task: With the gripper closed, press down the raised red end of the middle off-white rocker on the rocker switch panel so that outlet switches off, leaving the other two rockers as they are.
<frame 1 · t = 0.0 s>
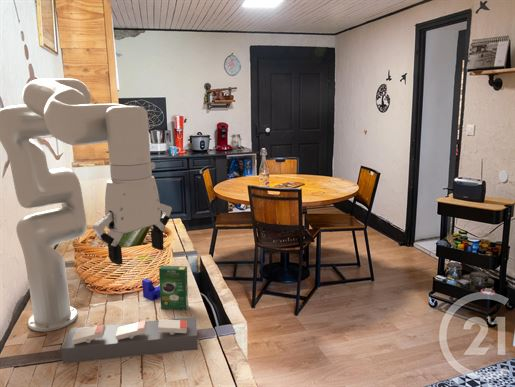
hand: (138, 255, 87), 31 cm above the table, tool pointing down, fingers open, 9 cm apart
rocker 3: (172, 326, 108), point 5 cm above the table, hinge at -10.0°
coffee box: (175, 308, 129), on the table
rocker 2: (131, 330, 107), point 5 cm above the table, hinge at 10.0°
rocker switch panel: (134, 345, 110), on the table
rocker 1: (89, 334, 105), point 5 cm above the table, hinge at 10.0°
blue piece: (163, 293, 139), on the table
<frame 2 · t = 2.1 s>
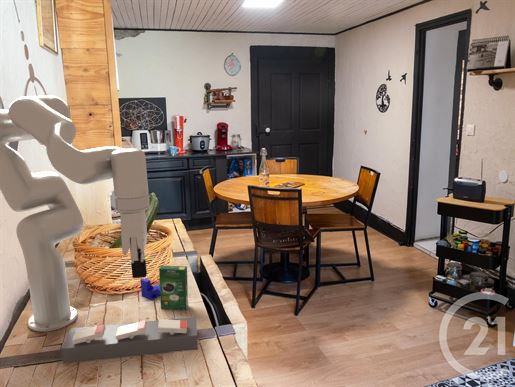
hand: (139, 276, 104), 20 cm above the table, tool pointing down, fingers closed
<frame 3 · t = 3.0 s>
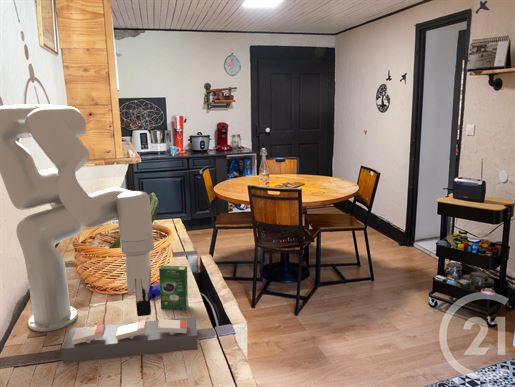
hand: (144, 314, 106), 10 cm above the table, tool pointing down, fingers closed
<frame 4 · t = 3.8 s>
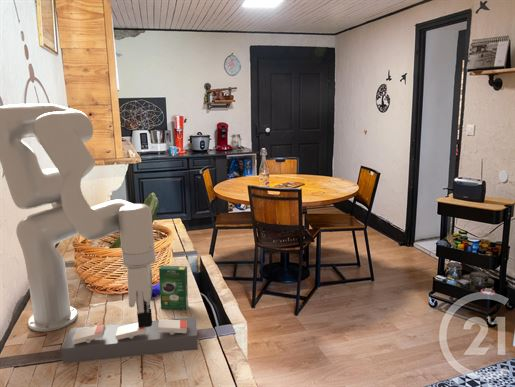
hand: (145, 325, 107), 7 cm above the table, tool pointing down, fingers closed
rocker 2: (131, 330, 107), point 5 cm above the table, hinge at 9.4°, touching gripper
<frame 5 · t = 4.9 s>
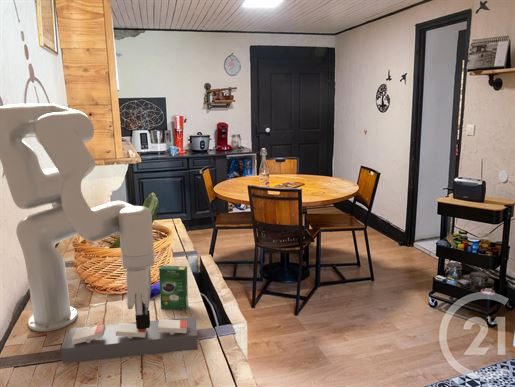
hand: (143, 326, 107), 6 cm above the table, tool pointing down, fingers closed
rocker 2: (131, 330, 107), point 5 cm above the table, hinge at -10.3°
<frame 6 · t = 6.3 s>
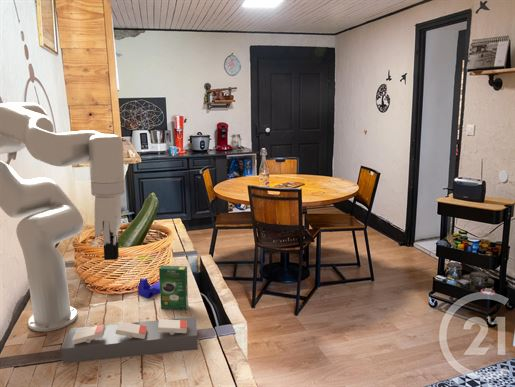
hand: (111, 258, 107), 23 cm above the table, tool pointing down, fingers closed
rocker 2: (131, 330, 107), point 5 cm above the table, hinge at -17.8°, touching rocker switch panel
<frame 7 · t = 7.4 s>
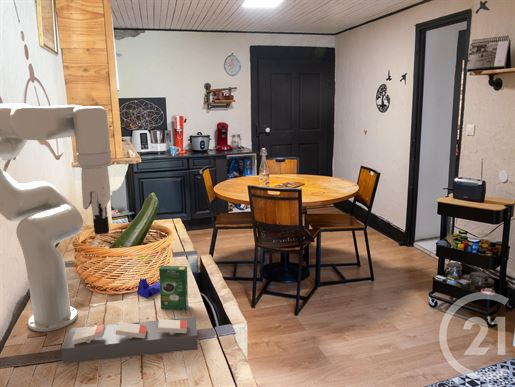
hand: (102, 232, 107), 29 cm above the table, tool pointing down, fingers closed
rocker 2: (131, 330, 107), point 5 cm above the table, hinge at -15.3°
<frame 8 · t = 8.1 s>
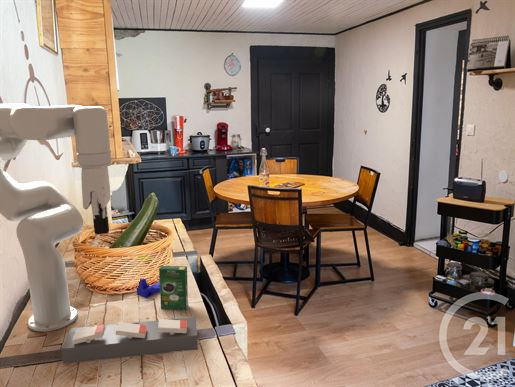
hand: (102, 232, 107), 29 cm above the table, tool pointing down, fingers closed
rocker 2: (131, 330, 107), point 5 cm above the table, hinge at -14.3°
at the end: rocker 2 at -14° (first picture: +10°); rocker 1 at +10° (first picture: +10°); rocker 3 at -10° (first picture: -10°) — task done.
